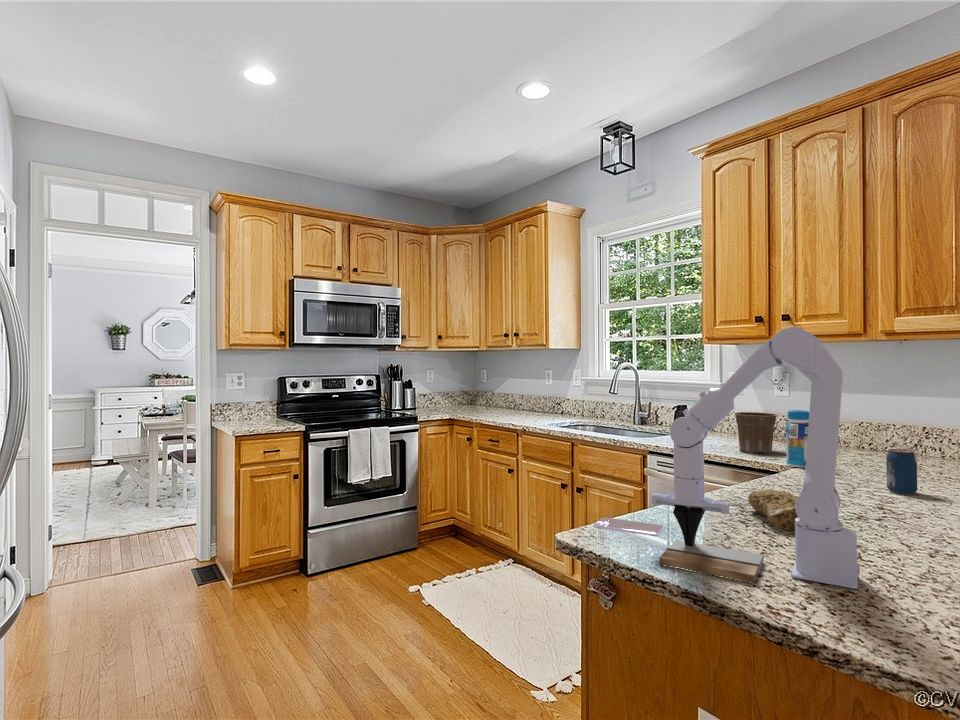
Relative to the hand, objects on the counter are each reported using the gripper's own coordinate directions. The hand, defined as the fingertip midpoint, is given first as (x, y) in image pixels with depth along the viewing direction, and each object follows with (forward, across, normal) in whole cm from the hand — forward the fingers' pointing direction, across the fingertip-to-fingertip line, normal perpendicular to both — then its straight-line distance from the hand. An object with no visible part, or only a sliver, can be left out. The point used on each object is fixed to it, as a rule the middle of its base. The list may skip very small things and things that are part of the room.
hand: (689, 544), depth 108 cm
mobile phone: (+2, +16, -10) cm, 19 cm away
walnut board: (+1, -5, +8) cm, 9 cm away
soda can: (+2, -39, -84) cm, 92 cm away
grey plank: (+1, -5, +2) cm, 5 cm away
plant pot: (+2, +6, -142) cm, 142 cm away
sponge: (+2, -13, -34) cm, 36 cm away
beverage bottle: (+2, -12, -114) cm, 115 cm away
